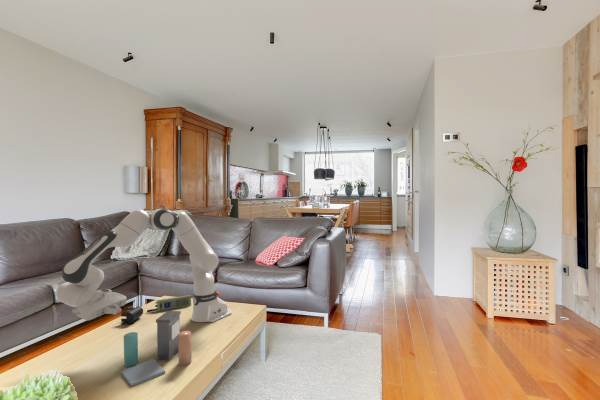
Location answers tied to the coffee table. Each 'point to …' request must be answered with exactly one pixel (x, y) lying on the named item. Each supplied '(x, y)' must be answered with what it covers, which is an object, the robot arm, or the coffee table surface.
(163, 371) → the mat
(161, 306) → the handheld radio
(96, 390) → the coffee table surface
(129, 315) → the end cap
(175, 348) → the block
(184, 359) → the terracotta canister
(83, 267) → the robot arm
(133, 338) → the teal canister
